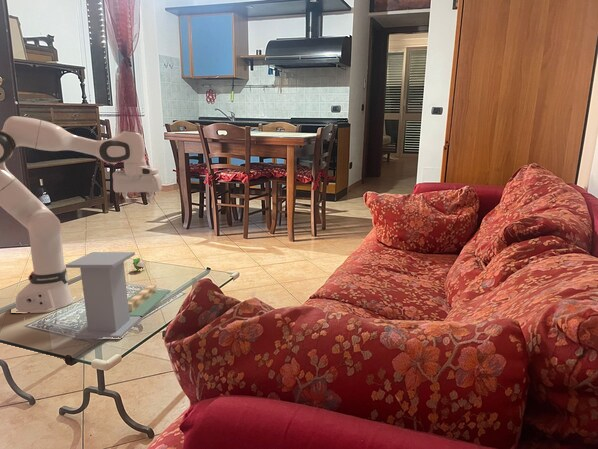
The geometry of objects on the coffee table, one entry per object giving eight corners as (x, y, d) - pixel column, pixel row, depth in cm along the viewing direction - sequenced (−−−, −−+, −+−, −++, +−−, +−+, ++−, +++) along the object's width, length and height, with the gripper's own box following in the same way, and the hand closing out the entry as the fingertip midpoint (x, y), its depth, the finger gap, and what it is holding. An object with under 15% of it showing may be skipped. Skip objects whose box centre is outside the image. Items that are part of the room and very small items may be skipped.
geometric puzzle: (126, 267, 226) (131, 256, 222) (136, 263, 231) (142, 253, 228) (134, 277, 224) (140, 265, 220) (145, 273, 230) (151, 262, 226)
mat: (139, 291, 196) (139, 290, 196) (170, 291, 195) (170, 290, 194) (107, 316, 169) (106, 315, 168) (142, 317, 167) (142, 315, 167)
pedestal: (100, 319, 166) (92, 252, 161) (141, 320, 164) (134, 252, 159) (75, 339, 150) (65, 264, 145) (120, 339, 149) (112, 264, 144)
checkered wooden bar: (149, 291, 193) (149, 285, 193) (156, 291, 193) (155, 285, 192) (124, 311, 172) (124, 303, 171) (132, 311, 171) (131, 304, 171)
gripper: (108, 171, 185) (111, 204, 188) (155, 170, 183) (158, 203, 186) (115, 169, 191) (119, 201, 194) (161, 169, 189) (164, 201, 192)
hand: (138, 202), depth 190 cm, fingers open, 8 cm apart
